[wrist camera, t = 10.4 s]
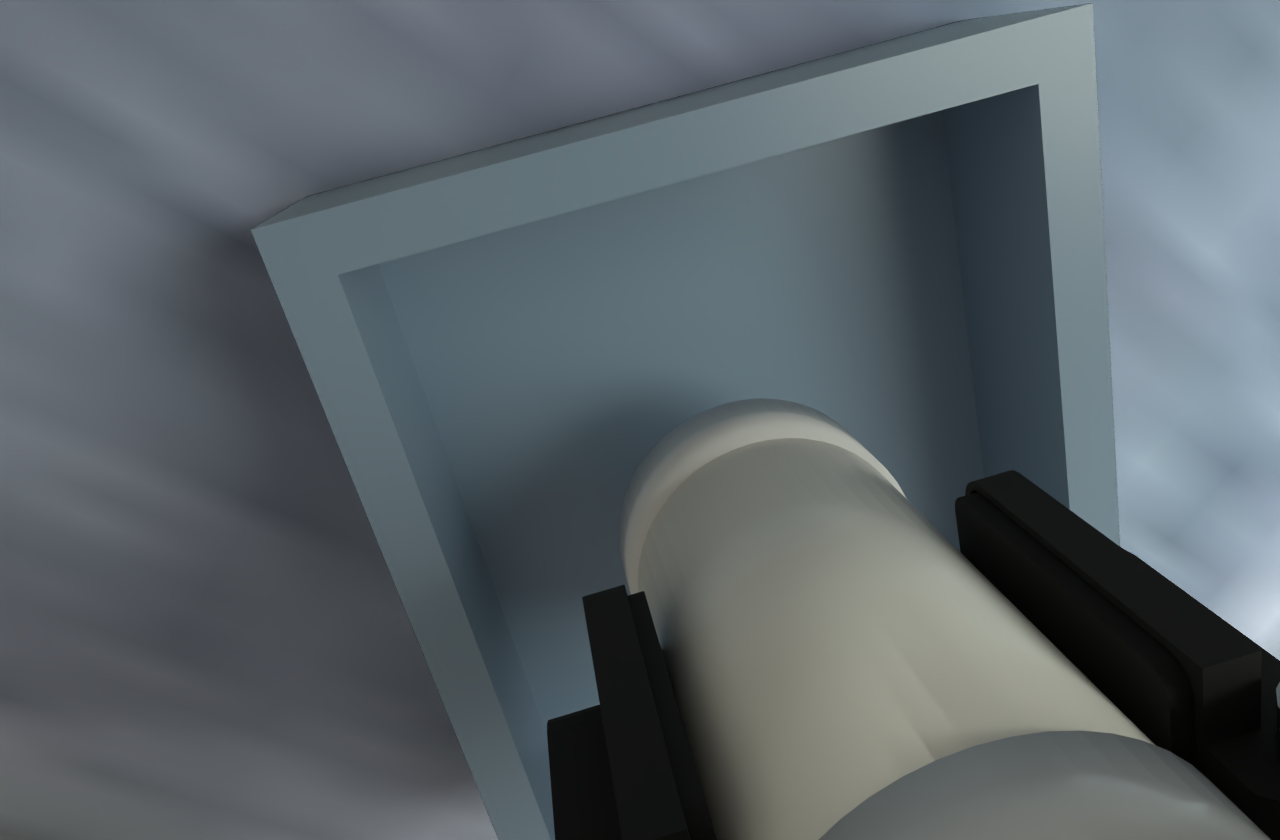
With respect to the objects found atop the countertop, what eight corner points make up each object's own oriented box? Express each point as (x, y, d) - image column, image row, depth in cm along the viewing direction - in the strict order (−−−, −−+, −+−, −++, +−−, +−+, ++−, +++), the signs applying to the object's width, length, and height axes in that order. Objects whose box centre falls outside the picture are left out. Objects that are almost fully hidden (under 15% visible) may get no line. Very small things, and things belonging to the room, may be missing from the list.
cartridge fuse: (856, 366, 14) (1430, 800, 5) (894, 598, 15) (1387, 1219, 7) (587, 443, 13) (742, 1026, 5) (653, 670, 15) (855, 1408, 7)
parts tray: (963, 19, 15) (1092, 2, 12) (1024, 619, 19) (1129, 727, 16) (307, 196, 14) (251, 229, 11) (523, 769, 19) (527, 912, 16)
